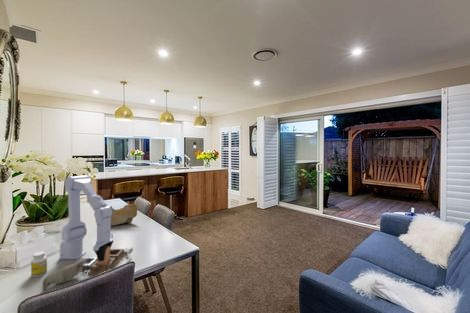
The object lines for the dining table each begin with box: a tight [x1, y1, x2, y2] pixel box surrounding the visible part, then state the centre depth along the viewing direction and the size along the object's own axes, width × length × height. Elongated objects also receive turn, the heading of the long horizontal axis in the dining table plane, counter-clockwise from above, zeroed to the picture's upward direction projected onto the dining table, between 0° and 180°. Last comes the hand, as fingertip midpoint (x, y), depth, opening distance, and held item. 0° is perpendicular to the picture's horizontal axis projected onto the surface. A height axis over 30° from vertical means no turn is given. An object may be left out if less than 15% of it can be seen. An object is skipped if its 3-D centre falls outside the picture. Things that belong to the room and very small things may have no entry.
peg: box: [97, 246, 111, 265], centre depth 107 cm, size 4×4×8 cm
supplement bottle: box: [30, 250, 48, 278], centre depth 101 cm, size 5×5×10 cm
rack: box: [87, 248, 126, 275], centre depth 112 cm, size 9×20×3 cm, turn 5°
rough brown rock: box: [111, 203, 138, 227], centre depth 172 cm, size 23×17×15 cm
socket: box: [75, 256, 97, 270], centre depth 111 cm, size 8×8×2 cm
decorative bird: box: [42, 258, 89, 291], centre depth 97 cm, size 5×16×7 cm, turn 144°
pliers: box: [124, 246, 133, 263], centre depth 120 cm, size 10×2×15 cm
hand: (103, 258), depth 107 cm, fingers closed on peg, 4 cm apart
